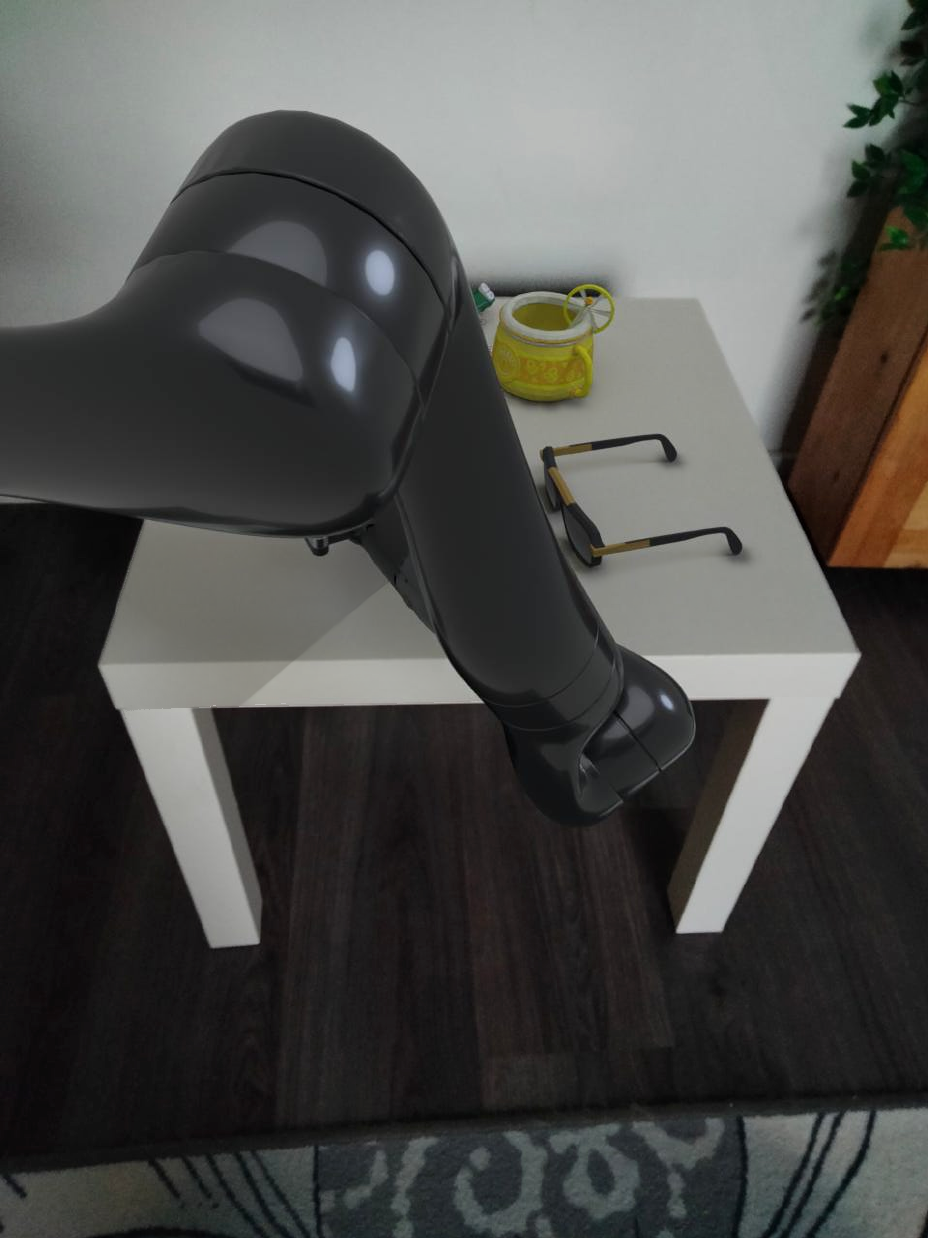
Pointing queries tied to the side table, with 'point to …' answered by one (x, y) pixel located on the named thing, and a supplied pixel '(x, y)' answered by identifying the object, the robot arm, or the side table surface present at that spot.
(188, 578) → the side table surface
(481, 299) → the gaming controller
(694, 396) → the side table surface
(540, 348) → the mug
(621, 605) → the side table surface
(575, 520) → the sunglasses
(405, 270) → the robot arm
